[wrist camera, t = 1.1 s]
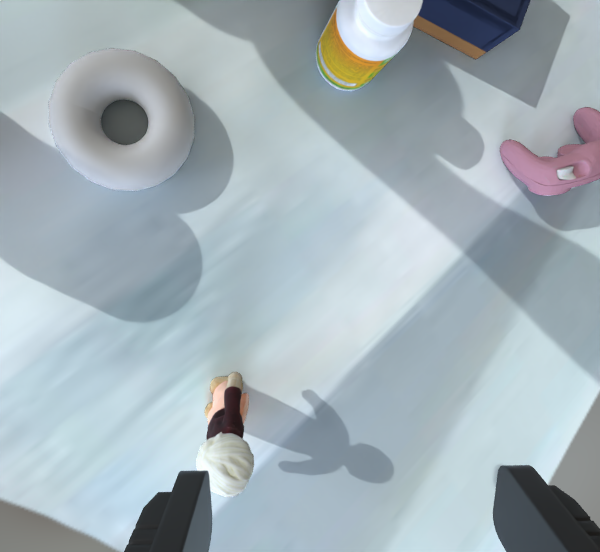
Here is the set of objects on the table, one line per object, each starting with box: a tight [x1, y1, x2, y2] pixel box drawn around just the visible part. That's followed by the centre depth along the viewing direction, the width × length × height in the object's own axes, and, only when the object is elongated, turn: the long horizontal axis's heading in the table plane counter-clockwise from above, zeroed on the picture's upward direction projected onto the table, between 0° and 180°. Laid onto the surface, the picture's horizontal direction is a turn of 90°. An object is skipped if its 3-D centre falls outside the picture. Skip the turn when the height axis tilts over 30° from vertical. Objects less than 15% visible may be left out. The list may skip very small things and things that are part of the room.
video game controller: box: [500, 107, 600, 196], centre depth 37 cm, size 10×5×7 cm, turn 113°
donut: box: [49, 48, 195, 191], centre depth 30 cm, size 10×4×10 cm
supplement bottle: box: [316, 0, 423, 91], centre depth 30 cm, size 5×5×10 cm
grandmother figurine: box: [196, 372, 254, 497], centre depth 29 cm, size 8×4×13 cm, turn 176°
